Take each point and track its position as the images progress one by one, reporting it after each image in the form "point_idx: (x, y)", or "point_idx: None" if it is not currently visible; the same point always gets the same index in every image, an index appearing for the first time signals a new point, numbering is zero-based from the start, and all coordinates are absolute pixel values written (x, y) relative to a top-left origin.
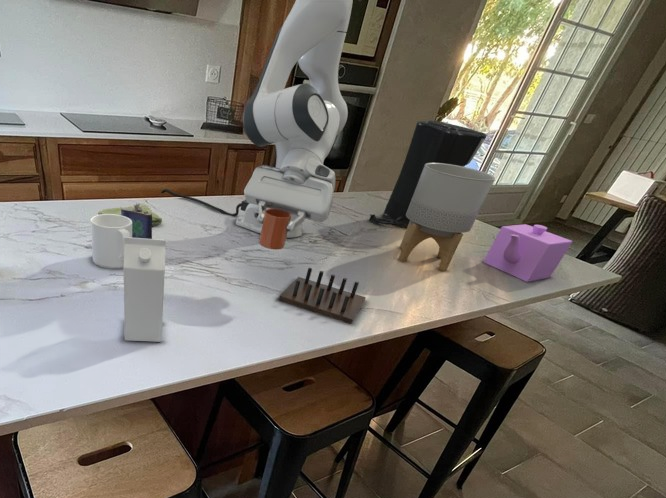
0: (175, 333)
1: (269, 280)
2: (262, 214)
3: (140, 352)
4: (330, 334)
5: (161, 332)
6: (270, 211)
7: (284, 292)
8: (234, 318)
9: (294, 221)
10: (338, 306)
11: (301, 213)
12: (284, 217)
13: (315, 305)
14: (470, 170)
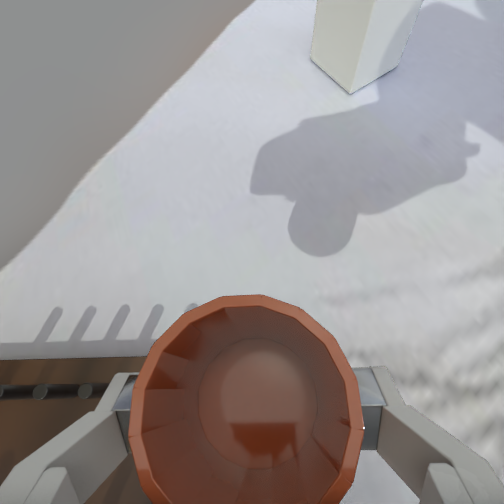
0: (309, 89)
1: None
2: (373, 399)
3: None
4: (35, 273)
5: (312, 41)
6: (337, 463)
7: None
8: (249, 195)
9: (101, 413)
10: (10, 417)
11: (22, 492)
12: (164, 342)
13: (79, 369)
14: None
